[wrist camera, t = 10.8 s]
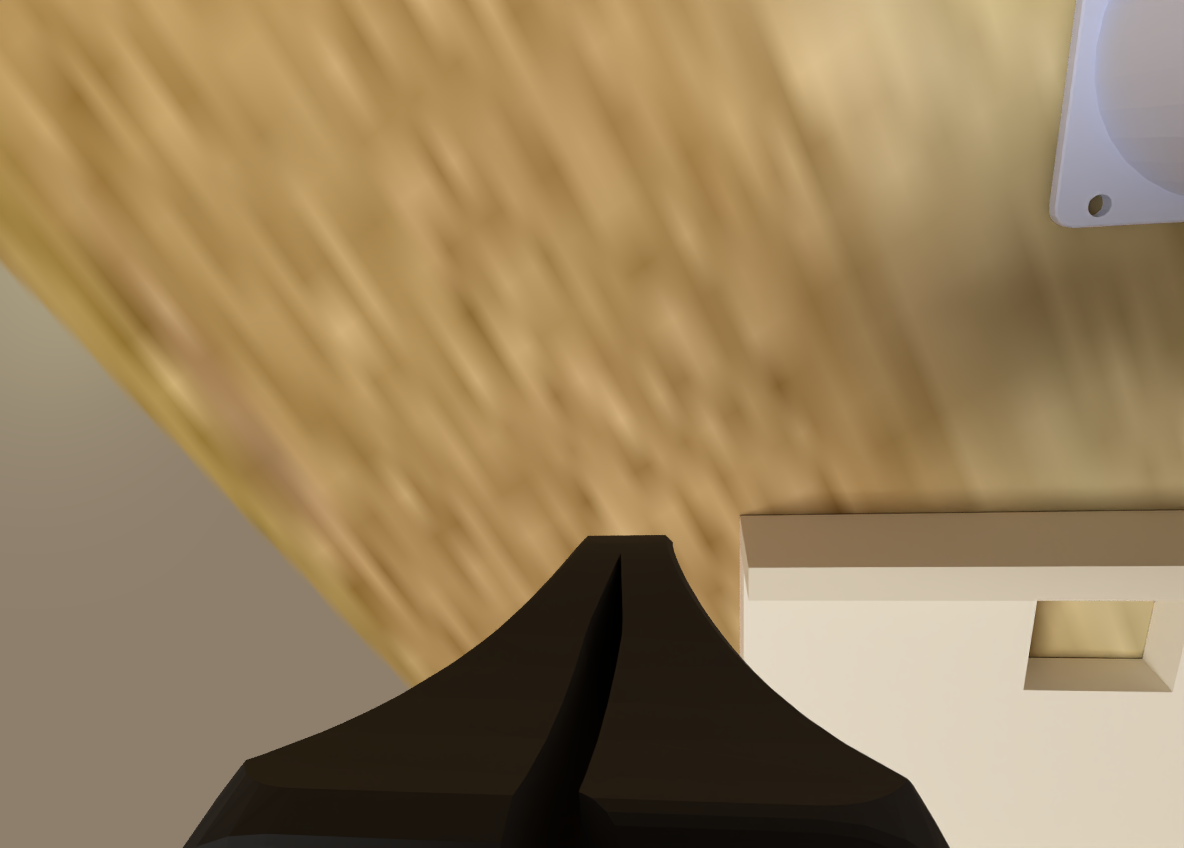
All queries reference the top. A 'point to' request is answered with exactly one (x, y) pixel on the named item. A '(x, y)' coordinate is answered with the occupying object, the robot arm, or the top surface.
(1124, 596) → the lane
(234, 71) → the top surface
